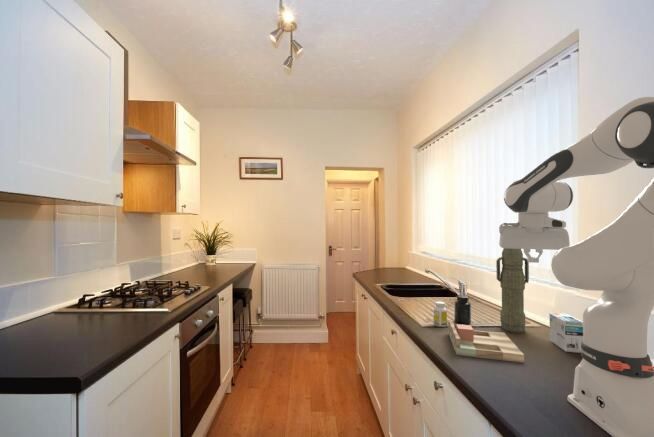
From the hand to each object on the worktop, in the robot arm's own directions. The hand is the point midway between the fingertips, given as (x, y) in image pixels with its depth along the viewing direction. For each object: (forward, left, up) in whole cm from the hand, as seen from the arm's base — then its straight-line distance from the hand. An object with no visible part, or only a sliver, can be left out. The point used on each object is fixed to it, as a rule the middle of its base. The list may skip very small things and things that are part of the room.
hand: (533, 262), depth 102 cm
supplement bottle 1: (+22, +28, -31) cm, 47 cm away
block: (+1, +22, -29) cm, 36 cm away
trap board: (+1, +16, -31) cm, 35 cm away
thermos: (+25, -1, -31) cm, 40 cm away
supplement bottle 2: (+28, +18, -31) cm, 46 cm away
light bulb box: (+10, -14, -31) cm, 36 cm away
